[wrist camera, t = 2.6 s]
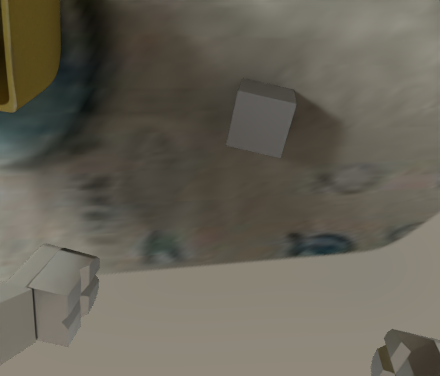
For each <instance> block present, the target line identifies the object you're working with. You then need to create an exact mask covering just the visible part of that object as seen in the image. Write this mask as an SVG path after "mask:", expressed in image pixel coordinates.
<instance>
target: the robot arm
mask: <svg viewBox="0 0 440 376" xmlns="http://www.w3.org/2000/svg"><path fill="white" fill-rule="evenodd" d="M99 268H100V259H99V258H98V257H96V256H93V255H89V254H85V253H82V252H78V251H74V250H71V249H67V248H61V247H58V246H54V245H51V244H47V243H46V244H44V245H42V246H40V247H39V248H38V249H37V250H36V251H35V252H34V254H33V255H32V256H31V257H30V258H29V259H28V260H27V261H26V262H25V263H24V264H23V265H22V266H21V267H20V268H19V269H18V270H17V271H16V272H15V273H14V274H13V275H12V276H11V277H10V278H9V279H8V281H7V282H2V281H0V365H1V364H3V363H5V362H6V361H8V360H9V359H11V358H12V357H14V356H15V355H17V354H18V353H20V352H21V351H23V350H24V349H26V348H27V347H29V346H31V345H32V344H34V343H35V342H36V340H39V341H43V342H48V343H52V344H56V345H61V346H65V347H68V346H69V345H70V343H71V341H72V340H73V338H74V336H75V335H76V333H77V331H78V330H79V328H80V325H81V317H82V316H84V315H86V314H88V313H89V311H90V310H91V308H92V306H93V304H94V301H95V299H96V296H97V292H98V288H99V279H98V278H97V276H96V275H95V274H96V273H97V271H98V270H99ZM384 340H385V343H386V345H385V346H383V347H380V348H379V349H377V350H376V352H375V354H374V356H373V359H372V364H371V376H440V340H438V339H433V338H428V337H424V336H419V335H416V334H411V333H407V332H403V331H398V330H394V329H392V330H390V331H388V332H387V334H386V335H385V337H384Z"/></svg>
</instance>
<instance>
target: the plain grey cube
mask: <svg viewBox="0 0 440 376" xmlns="http://www.w3.org/2000/svg"><path fill="white" fill-rule="evenodd" d="M296 105H297V102H296V98H295V93H294V90H292V89H288V88H284V87H279V86H275V85H270V84H266V83H262V82H257V81H253V80H249V79H244V78H243V79H242V82H241V84H240V87H239V89H238V92H237V97H236V102H235V106H234V111H233V115H232V120H231V125H230V129H229V134H228V138H227V143H226V146H229V147H234V148H238V149H242V150H246V151H251V152H255V153H259V154H263V155H268V156H272V157H276V158H281V155H282V152H283V149H284V145H285V142H286V139H287V135H288V132H289V129H290V125H291V122H292V119H293V115H294V112H295V109H296Z"/></svg>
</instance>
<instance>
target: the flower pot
mask: <svg viewBox="0 0 440 376" xmlns="http://www.w3.org/2000/svg"><path fill="white" fill-rule="evenodd" d="M60 55H61V28H60V0H0V111H4V112H10V113H13V112H15V111H16V110H18V109H19V108H21V107H22V106H23V105H25V104H26V103H27V102H29V101H30V100H32V99H33V98H34V97H36V96H37V95H38V94H40V93H41V92H42V91H43V90H45V89H46V88H47V87H48V86H49V85H50V84H51V83H52V81H53V80H54V78H55V76H56V74H57V72H58V68H59V64H60Z"/></svg>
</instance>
